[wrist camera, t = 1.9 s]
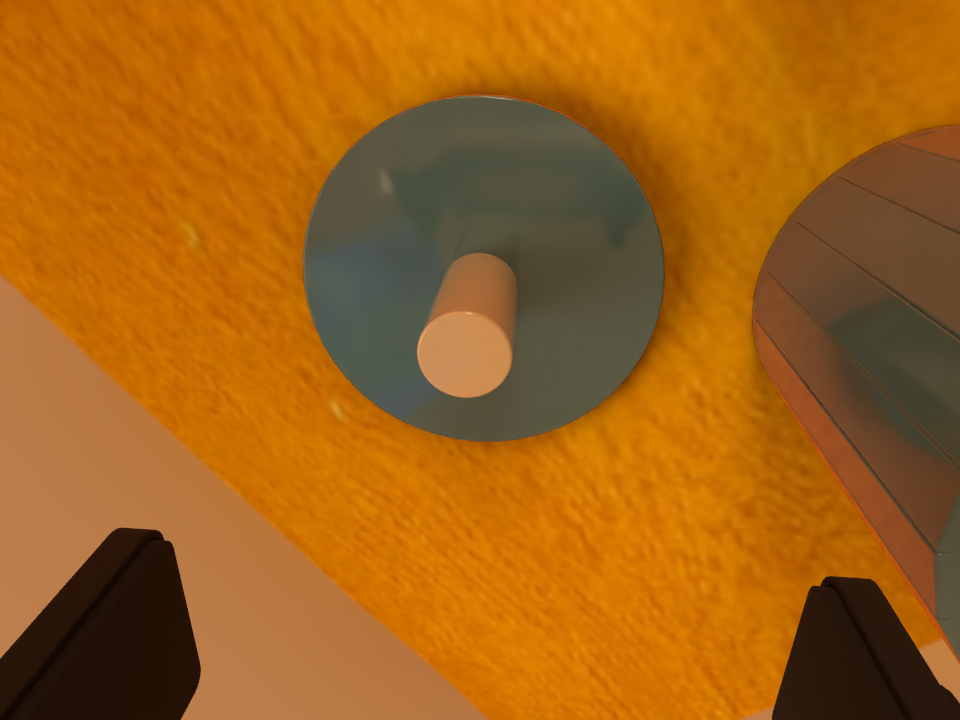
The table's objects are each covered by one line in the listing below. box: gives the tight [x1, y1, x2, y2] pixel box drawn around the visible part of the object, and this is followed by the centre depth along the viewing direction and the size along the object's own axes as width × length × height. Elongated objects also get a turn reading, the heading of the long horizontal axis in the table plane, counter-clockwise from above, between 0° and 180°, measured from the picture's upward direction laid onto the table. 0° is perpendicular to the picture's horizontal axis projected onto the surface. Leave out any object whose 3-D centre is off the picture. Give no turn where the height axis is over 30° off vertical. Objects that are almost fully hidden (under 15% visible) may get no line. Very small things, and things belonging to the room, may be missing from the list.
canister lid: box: [303, 94, 665, 442], centre depth 19 cm, size 11×11×6 cm
